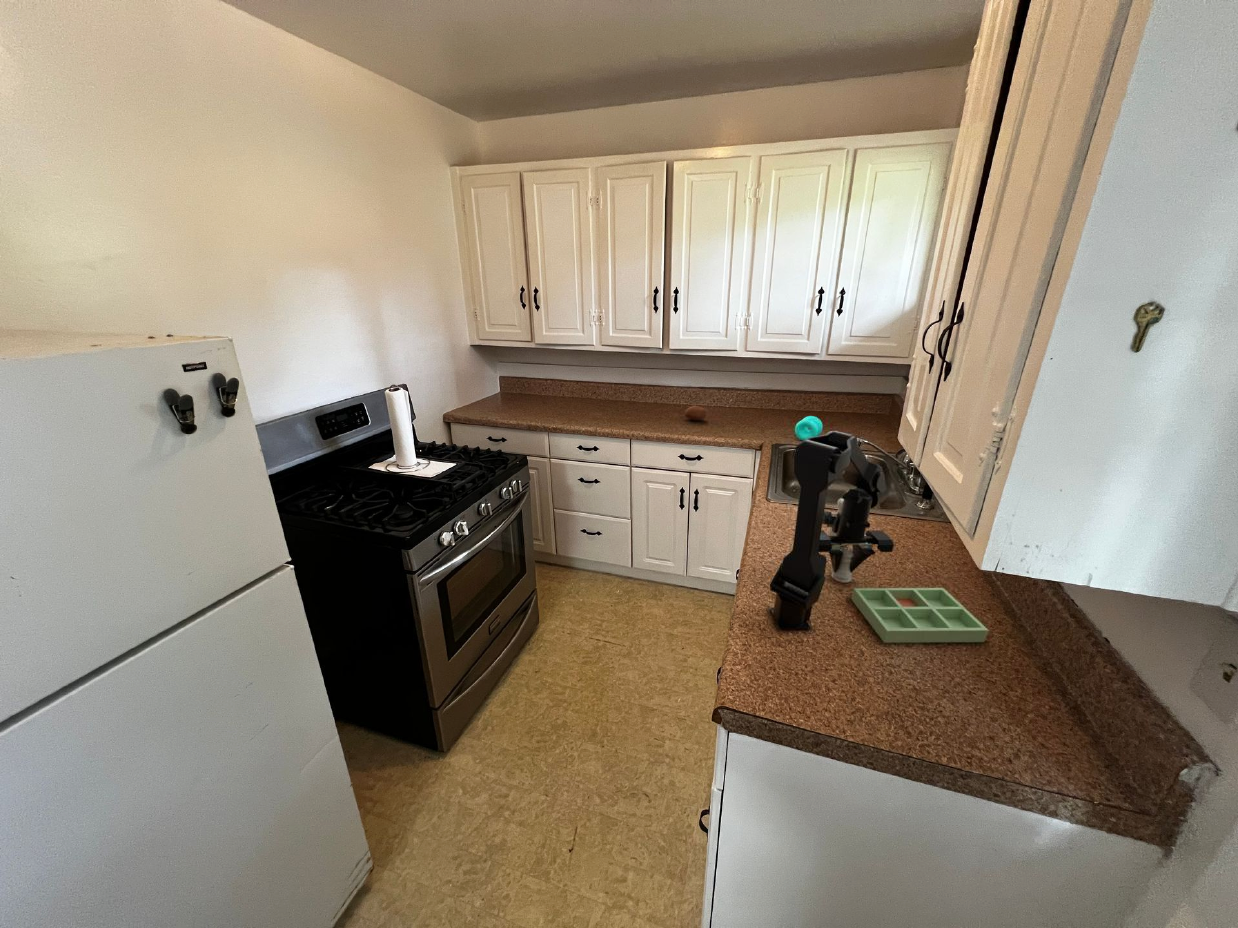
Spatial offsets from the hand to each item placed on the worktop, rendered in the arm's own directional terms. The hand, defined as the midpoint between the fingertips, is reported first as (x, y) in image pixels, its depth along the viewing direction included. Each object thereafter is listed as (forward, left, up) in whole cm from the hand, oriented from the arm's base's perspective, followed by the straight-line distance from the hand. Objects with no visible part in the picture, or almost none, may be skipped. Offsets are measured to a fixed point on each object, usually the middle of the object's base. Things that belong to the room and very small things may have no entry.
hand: (842, 571), depth 116 cm
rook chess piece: (0, 0, -2) cm, 2 cm away
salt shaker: (+7, +17, -2) cm, 19 cm away
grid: (+9, -15, -2) cm, 18 cm away
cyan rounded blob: (+34, +108, -2) cm, 113 cm away
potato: (-12, +138, -2) cm, 138 cm away
